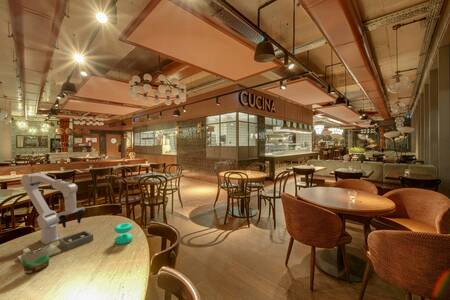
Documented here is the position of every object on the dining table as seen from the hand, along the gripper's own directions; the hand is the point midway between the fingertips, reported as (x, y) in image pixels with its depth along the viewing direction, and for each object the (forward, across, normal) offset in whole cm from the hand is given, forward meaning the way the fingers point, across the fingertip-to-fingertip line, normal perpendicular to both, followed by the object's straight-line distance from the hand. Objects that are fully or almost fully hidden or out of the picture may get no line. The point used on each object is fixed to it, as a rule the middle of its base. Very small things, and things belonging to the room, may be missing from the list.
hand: (71, 224), depth 128 cm
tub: (+10, +1, -4) cm, 11 cm away
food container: (+11, -20, -19) cm, 29 cm away
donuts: (+11, +18, -27) cm, 34 cm away
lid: (+10, -17, -4) cm, 20 cm away
